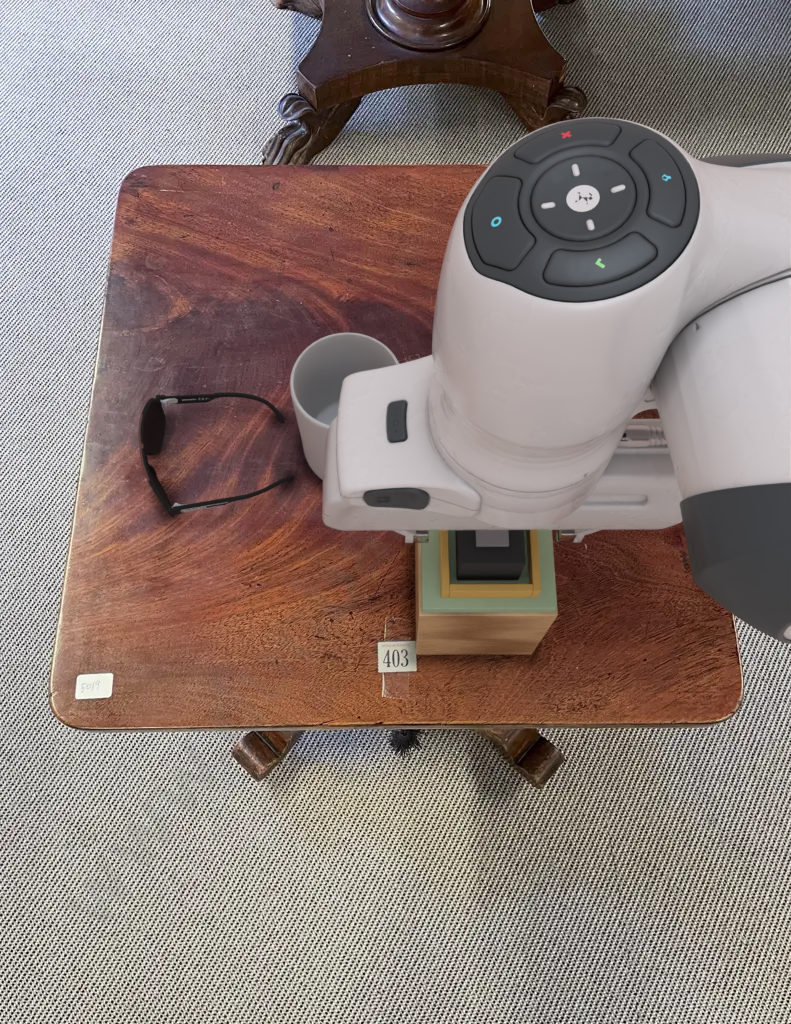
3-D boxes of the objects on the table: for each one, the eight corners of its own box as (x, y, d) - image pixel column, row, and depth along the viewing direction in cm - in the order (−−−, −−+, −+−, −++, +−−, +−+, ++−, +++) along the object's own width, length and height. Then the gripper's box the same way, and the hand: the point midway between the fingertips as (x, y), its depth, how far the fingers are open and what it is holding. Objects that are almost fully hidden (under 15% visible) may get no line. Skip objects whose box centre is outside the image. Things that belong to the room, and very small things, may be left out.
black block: (514, 508, 57) (522, 486, 54) (518, 580, 55) (526, 562, 52) (454, 508, 57) (458, 486, 54) (456, 580, 55) (460, 562, 52)
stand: (525, 545, 70) (548, 487, 59) (531, 654, 67) (558, 615, 55) (414, 545, 70) (417, 487, 59) (416, 654, 67) (418, 615, 56)
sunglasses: (142, 418, 74) (133, 388, 70) (280, 403, 76) (280, 373, 72) (153, 531, 70) (144, 507, 66) (298, 511, 73) (299, 487, 68)
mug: (287, 471, 72) (269, 409, 62) (327, 388, 75) (315, 316, 65) (420, 519, 71) (424, 463, 61) (456, 432, 74) (464, 365, 63)
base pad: (546, 490, 59) (552, 475, 56) (554, 612, 56) (561, 602, 53) (420, 490, 59) (421, 475, 56) (422, 612, 56) (422, 602, 53)
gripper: (728, 372, 42) (652, 484, 55) (311, 375, 42) (332, 485, 55) (747, 491, 40) (663, 579, 53) (306, 493, 40) (330, 580, 53)
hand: (491, 531), depth 54 cm, fingers open, 8 cm apart
